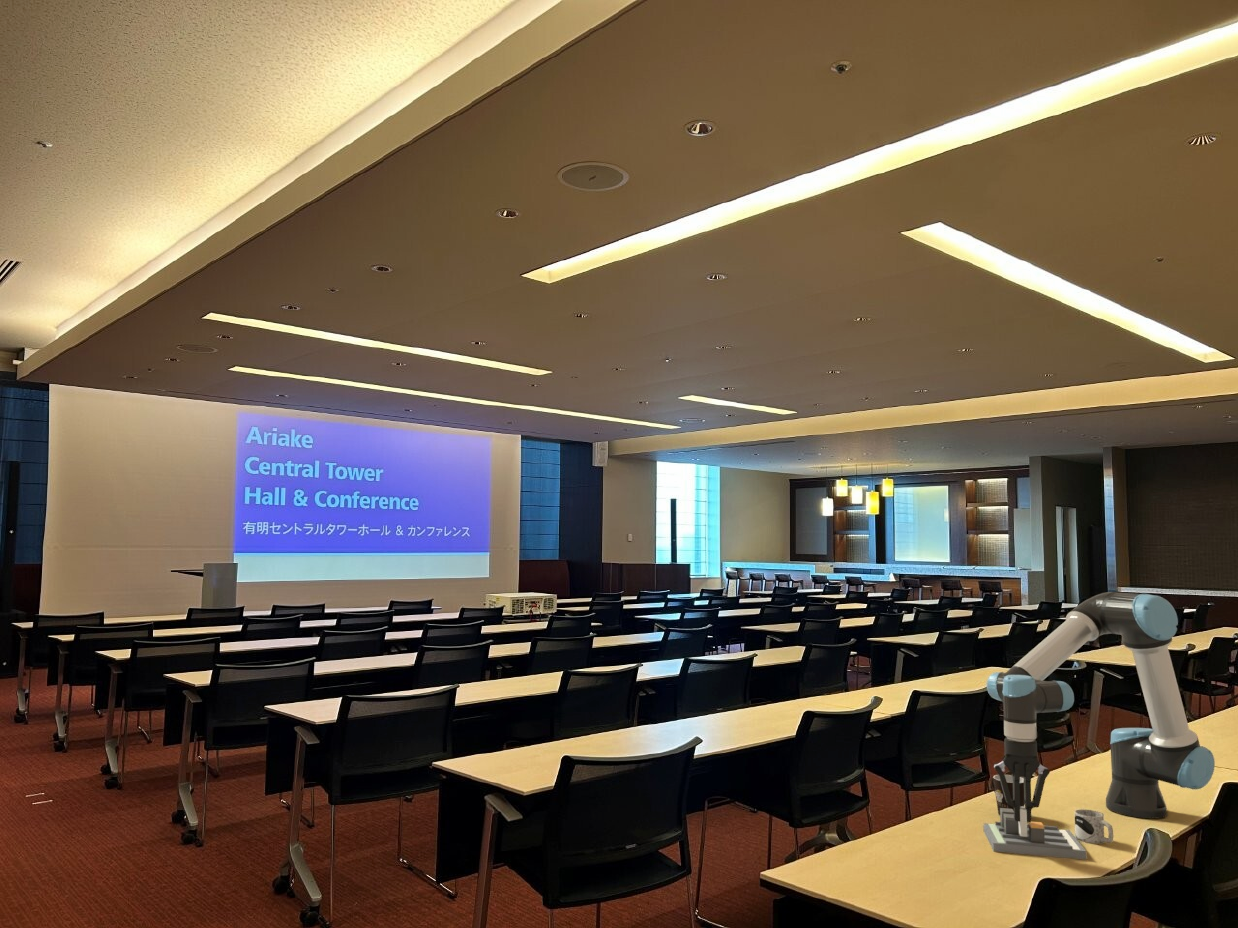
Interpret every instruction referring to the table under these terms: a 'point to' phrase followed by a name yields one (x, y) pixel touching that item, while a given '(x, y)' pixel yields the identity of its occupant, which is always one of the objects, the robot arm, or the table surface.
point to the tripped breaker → (1036, 832)
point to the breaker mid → (1010, 824)
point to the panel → (1055, 843)
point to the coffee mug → (1000, 795)
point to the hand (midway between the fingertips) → (1023, 834)
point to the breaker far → (1004, 811)
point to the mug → (1091, 827)
